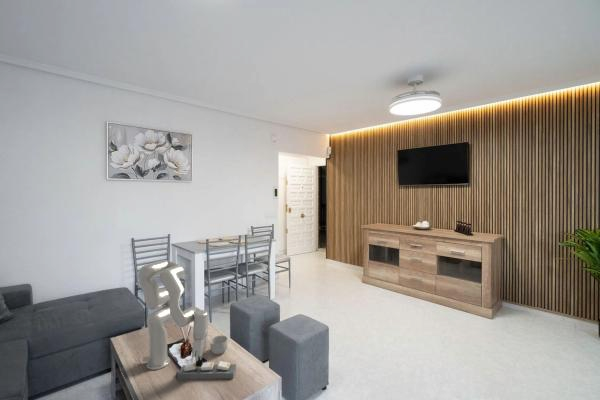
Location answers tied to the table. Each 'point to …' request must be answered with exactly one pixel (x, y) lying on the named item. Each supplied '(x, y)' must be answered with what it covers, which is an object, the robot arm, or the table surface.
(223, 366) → the rocker
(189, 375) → the grey rectangular tray
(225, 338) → the teacup
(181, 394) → the table surface
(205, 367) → the rocker
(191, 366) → the rocker
